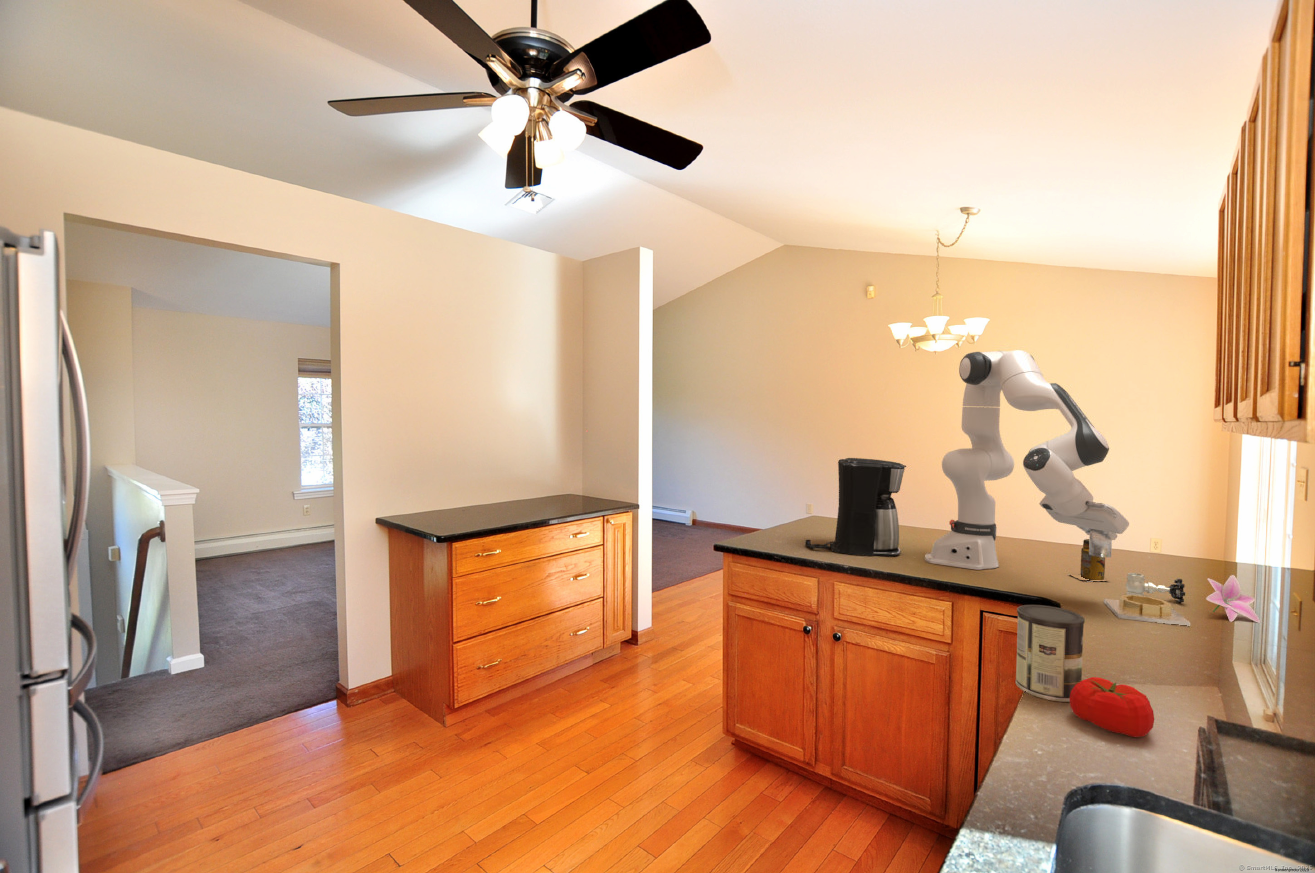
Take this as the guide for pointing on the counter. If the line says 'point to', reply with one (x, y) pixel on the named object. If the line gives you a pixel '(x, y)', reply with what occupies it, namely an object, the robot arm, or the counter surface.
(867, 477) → the coffee maker
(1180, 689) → the counter surface
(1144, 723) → the tomato
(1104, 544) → the black-capped jar
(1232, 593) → the lily
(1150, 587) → the valve
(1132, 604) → the flange
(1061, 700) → the coffee can
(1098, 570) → the condiment
